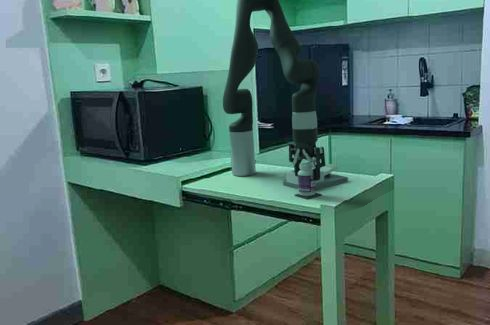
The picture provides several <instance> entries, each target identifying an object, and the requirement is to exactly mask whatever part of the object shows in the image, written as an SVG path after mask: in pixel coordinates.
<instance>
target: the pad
mask: <svg viewBox="0 0 490 325" xmlns="http://www.w3.org/2000/svg"><path fill="white" fill-rule="evenodd" d="M294 196H295V197H297V198H301V199H304V200H310V199H313V198H317V197H321V196H323V194H322V193H319V192H316V193H315V194H314V195H312V196H301V195H299V193H296V194H294Z"/></svg>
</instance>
